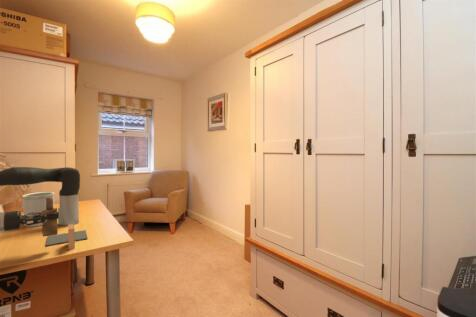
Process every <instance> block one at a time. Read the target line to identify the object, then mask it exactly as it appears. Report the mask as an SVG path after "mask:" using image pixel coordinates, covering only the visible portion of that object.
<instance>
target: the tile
mask: <svg viewBox="0 0 476 317" xmlns="http://www.w3.org/2000/svg"><path fill="white" fill-rule="evenodd" d="M67 228H68V230H67V233H68V241H69V242H68V250H69V251H71V250H75V247H76V246H75V244H76V243H75V242H76V241H75V236H74V232H75V224H71V225H67Z"/></svg>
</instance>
